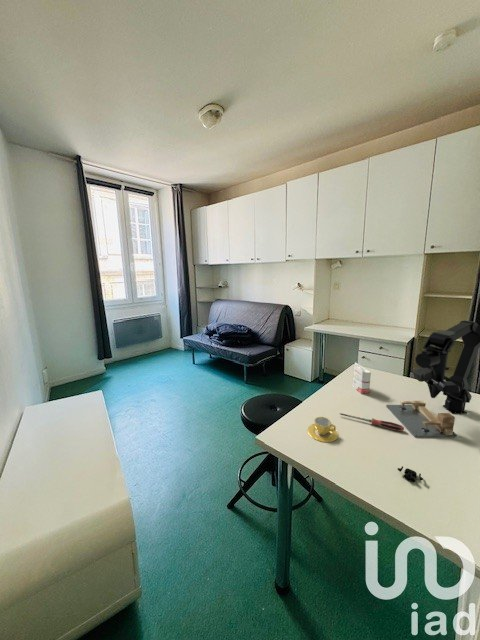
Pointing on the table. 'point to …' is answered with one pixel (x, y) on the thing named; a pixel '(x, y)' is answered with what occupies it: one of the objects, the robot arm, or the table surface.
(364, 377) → the ink cartridge box
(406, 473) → the wireless earbuds
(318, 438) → the cup
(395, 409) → the steel plate
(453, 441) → the table surface
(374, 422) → the screwdriver
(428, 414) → the compass bar
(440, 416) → the slider leg
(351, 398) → the table surface
